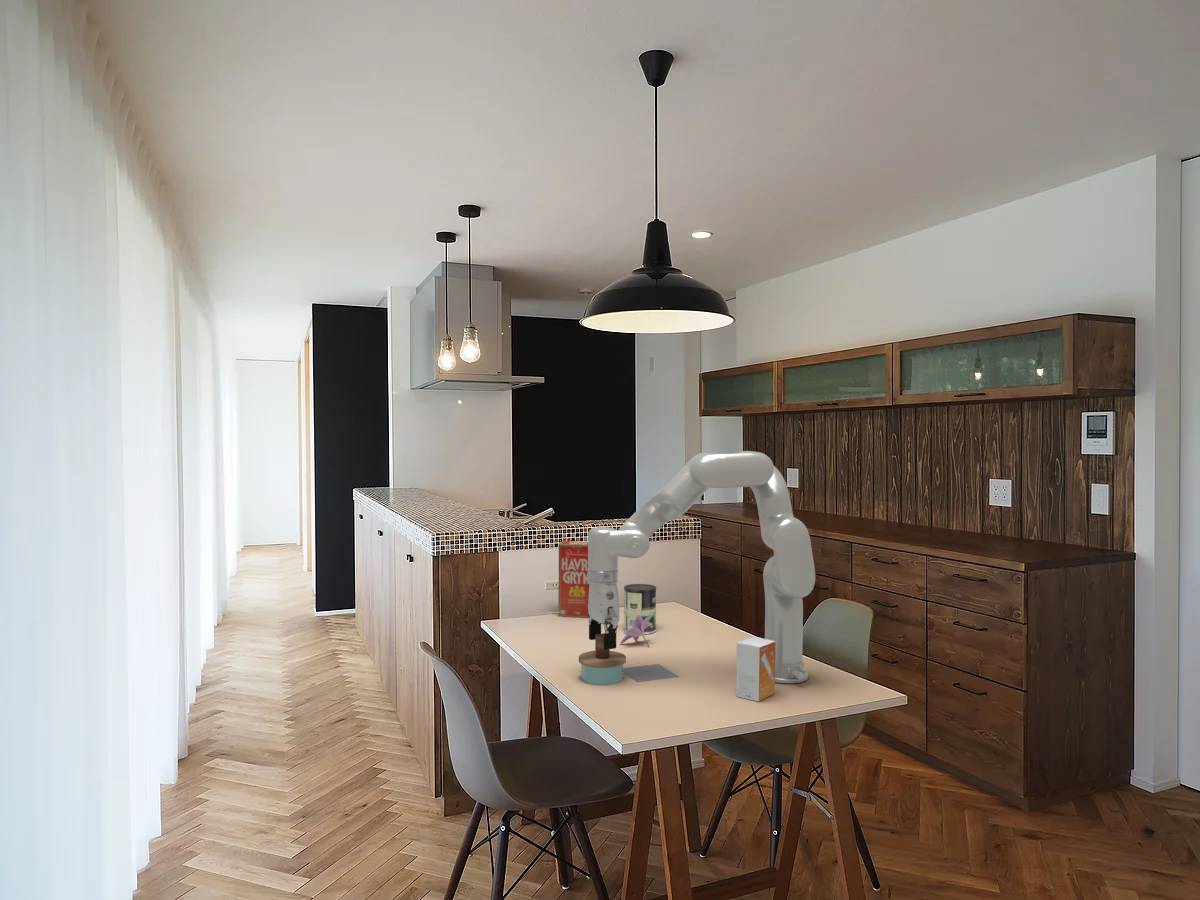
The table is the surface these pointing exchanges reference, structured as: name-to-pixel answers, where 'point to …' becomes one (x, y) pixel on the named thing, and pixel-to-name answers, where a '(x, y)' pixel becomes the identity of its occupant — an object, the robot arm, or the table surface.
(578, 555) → the food packaging
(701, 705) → the table surface
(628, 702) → the table surface
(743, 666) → the small box
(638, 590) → the coffee can
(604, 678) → the bowl
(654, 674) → the mat
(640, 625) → the lily
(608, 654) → the lid
